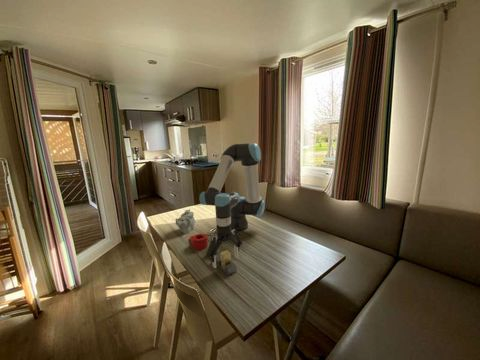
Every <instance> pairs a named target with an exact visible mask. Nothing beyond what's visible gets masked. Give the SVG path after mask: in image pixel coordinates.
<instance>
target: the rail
mask: <svg viewBox="0 0 480 360" xmlns="http://www.w3.org/2000/svg"><path fill="white" fill-rule="evenodd" d="M207 251H208V248H206V252H207ZM220 253H221V252H219V253H218V251H217V252H216V253H215V256H216V266H217V267H218V268H220V269H221V270H222V271H223V272H224V273H225V274H226V275H227V276H230V275H232V274H234V273H236V272H237V264H236V263H234V262H232V261H231V263H230V264H227V265H225V270H224V269H223V268H222V267H221V256H220ZM209 259H211V257H209Z"/></svg>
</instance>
